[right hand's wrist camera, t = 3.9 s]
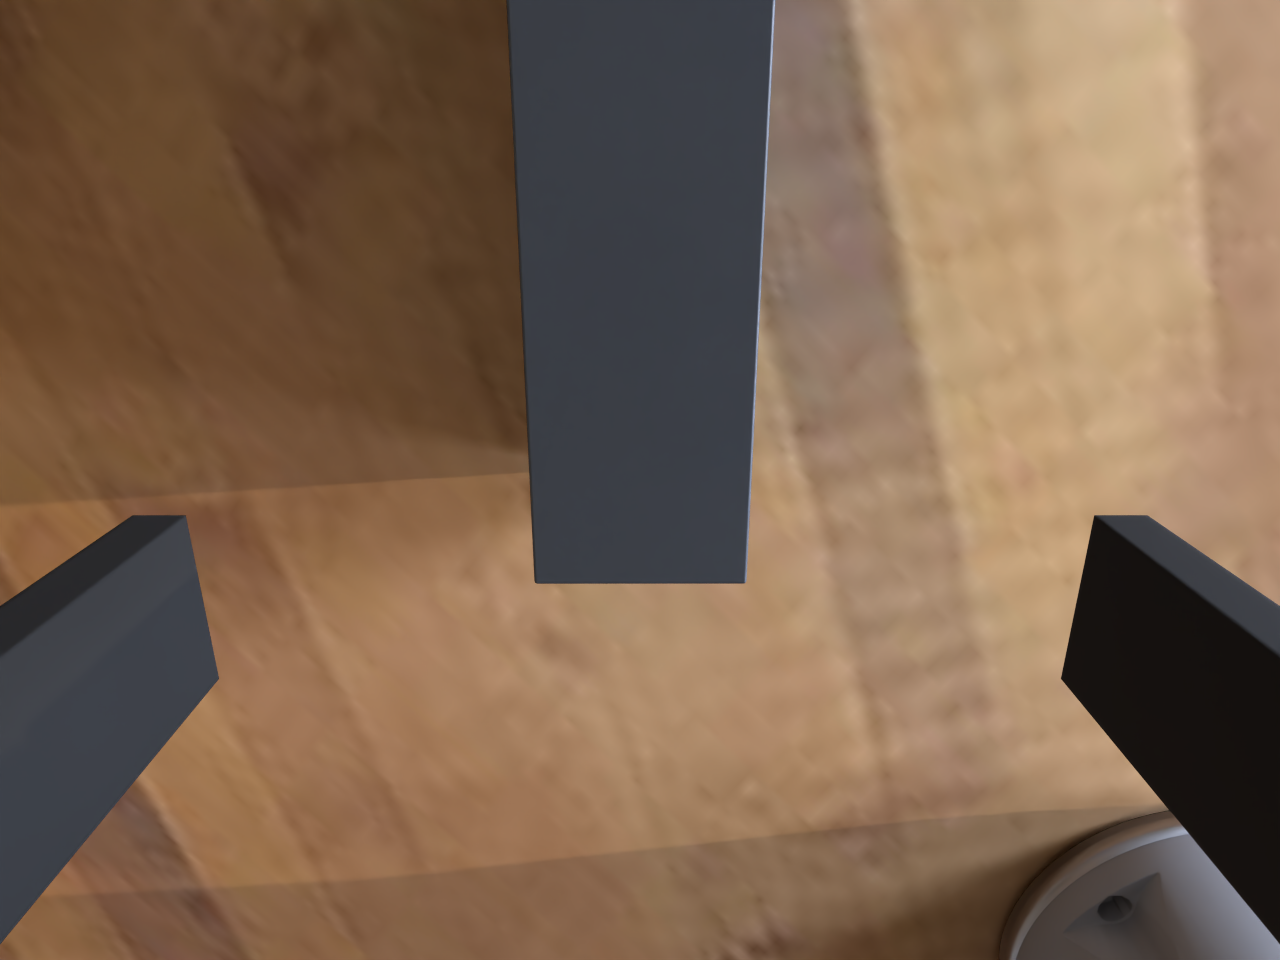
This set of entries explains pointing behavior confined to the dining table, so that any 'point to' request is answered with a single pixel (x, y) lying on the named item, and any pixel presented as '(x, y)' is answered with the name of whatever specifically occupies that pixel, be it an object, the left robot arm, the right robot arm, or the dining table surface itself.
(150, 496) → the dining table surface
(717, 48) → the beam
